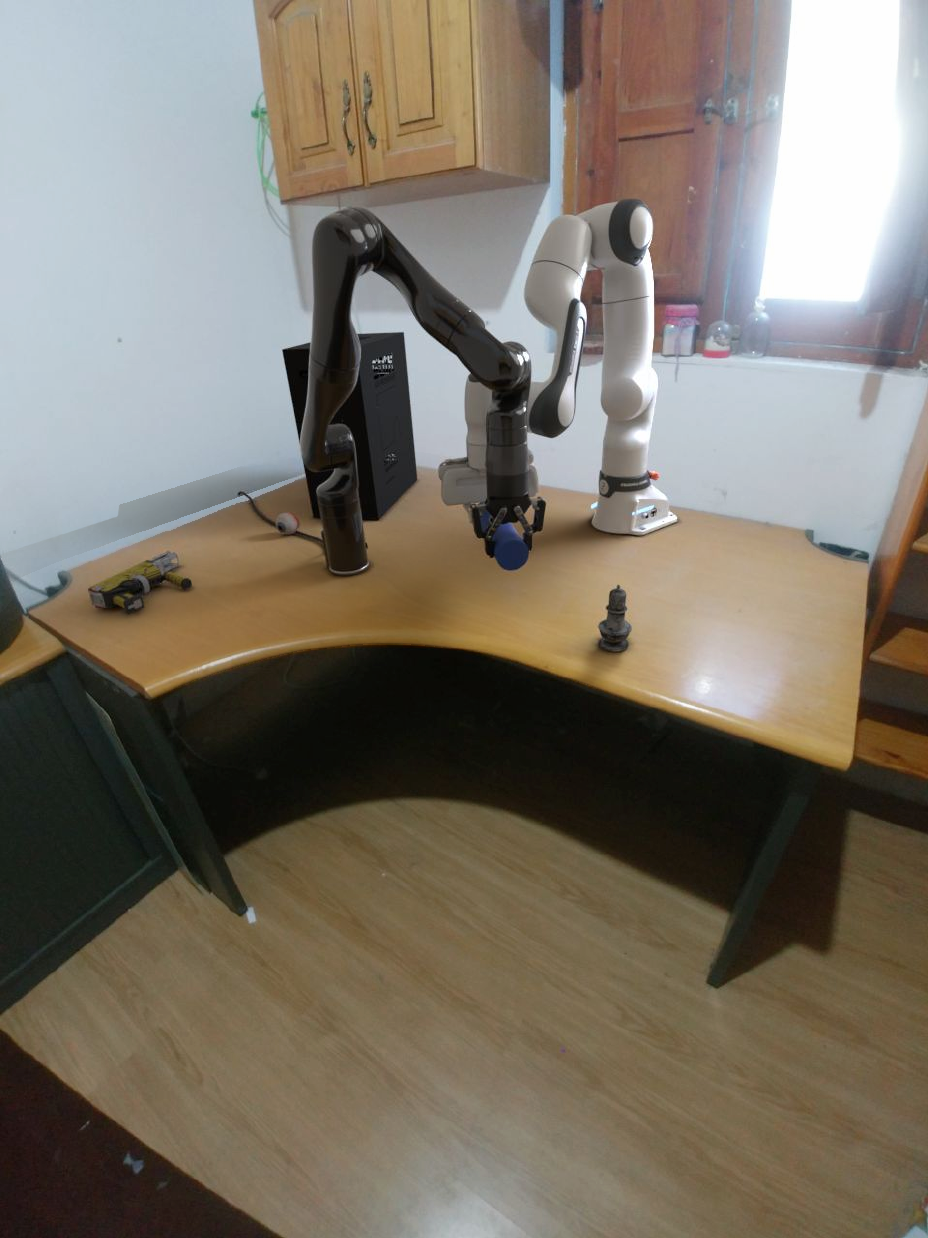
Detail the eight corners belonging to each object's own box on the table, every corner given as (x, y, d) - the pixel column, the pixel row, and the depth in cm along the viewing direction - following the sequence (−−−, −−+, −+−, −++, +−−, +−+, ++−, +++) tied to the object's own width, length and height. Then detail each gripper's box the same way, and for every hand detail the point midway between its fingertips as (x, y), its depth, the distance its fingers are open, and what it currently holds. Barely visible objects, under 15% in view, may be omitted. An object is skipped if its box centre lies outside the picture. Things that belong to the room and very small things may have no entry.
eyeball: (273, 537, 164) (268, 516, 161) (287, 528, 169) (282, 508, 166) (291, 539, 161) (286, 518, 158) (305, 530, 166) (301, 510, 163)
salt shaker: (630, 653, 106) (637, 593, 100) (596, 651, 107) (601, 591, 101) (629, 636, 111) (635, 577, 105) (597, 634, 112) (601, 576, 106)
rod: (474, 528, 132) (472, 501, 129) (501, 525, 132) (501, 498, 129) (496, 572, 112) (495, 541, 109) (528, 568, 113) (529, 538, 110)
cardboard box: (378, 519, 171) (356, 347, 149) (313, 517, 176) (282, 349, 153) (417, 479, 203) (403, 331, 180) (361, 478, 207) (341, 334, 185)
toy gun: (215, 559, 144) (165, 548, 148) (137, 602, 124) (81, 588, 128) (218, 577, 147) (168, 566, 151) (142, 621, 127) (87, 607, 131)
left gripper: (470, 477, 102) (475, 567, 110) (553, 469, 104) (551, 558, 112) (463, 465, 108) (468, 551, 117) (540, 457, 110) (540, 543, 118)
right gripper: (439, 464, 117) (444, 530, 124) (541, 454, 120) (540, 520, 126) (435, 455, 123) (440, 520, 129) (533, 446, 125) (532, 510, 132)
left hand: (508, 554), depth 114 cm, fingers closed on rod, 6 cm apart
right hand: (490, 520), depth 128 cm, fingers closed on rod, 6 cm apart
